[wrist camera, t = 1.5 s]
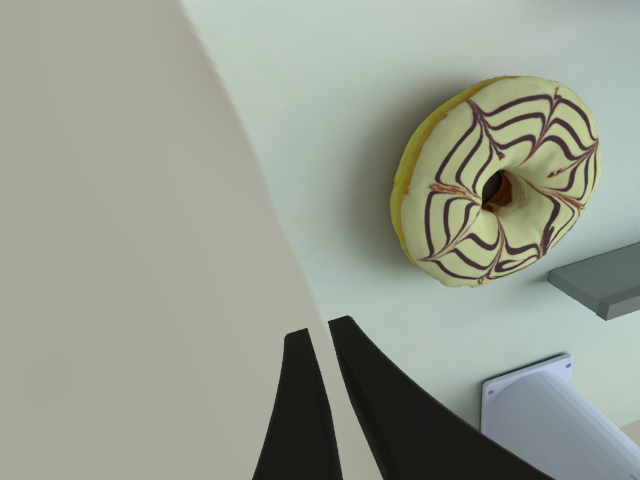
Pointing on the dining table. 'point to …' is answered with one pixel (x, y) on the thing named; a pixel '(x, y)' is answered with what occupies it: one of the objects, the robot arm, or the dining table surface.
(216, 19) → the dining table surface
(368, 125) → the dining table surface
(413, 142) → the decorated donut
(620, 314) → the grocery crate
